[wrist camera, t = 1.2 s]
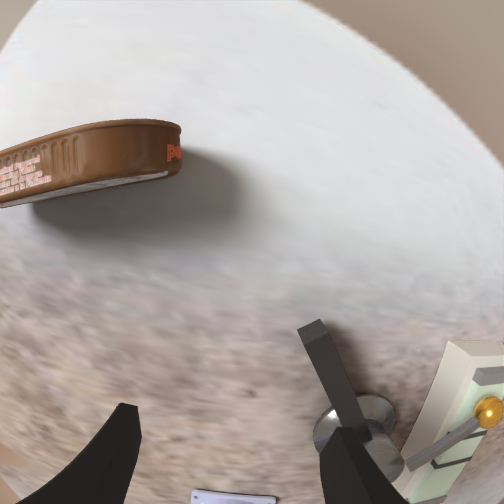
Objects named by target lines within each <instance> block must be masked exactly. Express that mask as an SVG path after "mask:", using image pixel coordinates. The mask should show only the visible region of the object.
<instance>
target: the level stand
mask: <svg viewBox="0 0 504 504" xmlns="http://www.w3.org/2000/svg"><path fill="white" fill-rule="evenodd" d="M487 396H496V397H498V398H499V399H500V400H501V401H502V399H503V396H504V344H502V343H501V342H499V341H464V340H448V343H447V346H446V349H445V352H444V354H443V357H442V360H441V363H440V366H439V368H438V371H437V374H436V376H435V379H434V381H433V384H432V386H431V389H430V391H429V393H428V396H427V398H426V400H425V403H424V405H423V407H422V409H421V412H420V414H419V416H418V418H417V420H416V422H415V424H414V427H413V429H412V431H411V433H410V435H409V437H408V439H407V441H406V442H405V444H404V446H403V448H402V450H401V452H400V454H401V456H402V457H403V459H404V461H405V460H406V459H408V458H410V457H412V456H414V455H415V454H417V453H419V452H420V451H422V450H424V449H425V448H427V447H429V446H430V445H432V444H434V443H435V442H437V441H438V440H440V439H441V438H443V437H444V436H446V435H447V434H449V433H450V432H452V431H453V430H455V429H456V428H458V427H459V426H461V425H462V424H463V423H465V422H466V421H468V420H469V419H470V418H472V417H473V413H474V409H475V407H476V405H477V403H478V402H479V401H480V400H481V399H483V398H485V397H487ZM487 431H488V430H487V429H482V428H480V427H479V428H478V429H477V430H475V431H474V432H473V433H471V434H470V435H469V436H467V437H466V438H464V439H463V440H462V441H460V442H459V443H457V444H456V445H454V446H453V447H451V448H450V449H448V450H447V451H445V452H444V453H442V454H441V455H439V456H437V457H436V458H434V459H433V460H431V461H429V462H428V463H426V464H424V465H423V466H421V467H419V468H417V469H416V470H414V471H412V472H410V471H409V469H408V468H407V466H406V462H405V467H404V470H403V472H402V473H401V475H400V476H399V477H398V478H397V479H396V480H395V481H394V482H393V483H391V484H392V485H393V486H394V488H395V489H396V490H397V491H398V492H399V493H400V494H401V495H402V497H403V498H404V499H405V500H406V501H407V502H408V503H409V504H439V503H442V502H443V501H444V500H445V498H446V497H447V496H446V492H447V491H448V490H449V488H450V487H451V486H452V484H453V483H454V481H455V480H456V478H457V477H458V476H459V474H460V473H461V471H462V470H463V468H464V467H465V465H466V464H467V462H468V461H470V460H471V458H472V454H473V452H474V451H475V449H476V447H477V446H478V444H479V442H480V441H481V439H482V437H483V435H485V434H486V433H487Z"/></svg>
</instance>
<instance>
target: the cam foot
mask: <svg viewBox="0 0 504 504" xmlns="http://www.w3.org/2000/svg"><path fill="white" fill-rule="evenodd" d="M297 331H298V333H299V335H300V338H301V340H302V342H303V345H304V347H305V349H306V351H307V353H308V355H309V357H310V359H311V361H312V364H313V366H314V368H315V370H316V372H317V374H318V376H319V378H320V380H321V383H322V385H323V387H324V389H325V391H326V393H327V395H328V397H329V399H330V402H331V404H332V406H331V407H330V408H329V409H327V410H326V411H325V412H324V413H323V414H322V416H321V417H320V418H319V420H318V421H317V423H316V425H315V427H314V430H313V441H314V444H315V447H316V450H317V451H318V453H319V454H320V453H321V451H322V450H323V448H324V447H325V445H326V443H327V442H328V440H329V439H330V437H331V435H332V434H333V432H334V431H335V429H336V427H352V428H353V430H354V431H355V433H356V434H357V436H358V437H359V439H360V441H361V442H362V444H363V445H364V447H365V448H366V450H367V451H368V453H369V454H370V456H371V457H372V459H373V460H374V461H375V463H376V464H377V466H378V467H379V468H380V470H381V471H382V472H383V474H384V475H385V476H386V478H387V479H388V480H389V482H390V483H393V482H394V481H395V480H396V479H397V478H398V477H399V476H400V475H401V473H402V472H403V470H404V467H405V462H406V466H407V468H408V469H409V471H410V472H412V471H414V470H416V469H417V468H419V467H421V466H423V465H424V464H426V463H428V462H429V461H431V460H433V459H434V458H436V457H437V456H439V455H441V454H442V453H444V452H445V451H447V450H448V449H450V448H451V447H453V446H454V445H456V444H457V443H459V442H460V441H462V440H463V439H464V438H466V437H467V436H469V435H470V434H471V433H473V432H474V431H475V430H477V429H478V428H479V427H480V428H482V429H489V428H492V427H494V426H495V425H496V424H498V423H499V421H500V420H501V418H502V416H503V412H504V406H503V403H502V401H501V400H500V399H499V398H498V397H496V396H487V397H485V398H483V399H481V400H480V401H479V402H478V403H477V405H476V407H475V409H474V413H473V417H472V418H470V419H469V420H468V421H466V422H465V423H463V424H462V425H461V426H459V427H458V428H456V429H455V430H453V431H452V432H450V433H449V434H447V435H446V436H444V437H443V438H441V439H440V440H438V441H437V442H435V443H434V444H432V445H430V446H429V447H427V448H425V449H424V450H422V451H420V452H419V453H417V454H415V455H414V456H412V457H410V458H408V459H406V460H405V461H404V459H403V457H402V456H401V454H400V452H399V451H398V449H397V447H396V446H395V444H394V443H393V441H392V439H391V438H390V435H391V433H392V431H393V429H394V426H395V423H396V414H395V410H394V408H393V407H392V405H391V404H390V403H389V401H388V400H387V399H385V398H384V397H382V396H380V395H376V394H358V395H355V393H354V391H353V388H352V386H351V383H350V381H349V378H348V376H347V374H346V371H345V369H344V366H343V364H342V362H341V359H340V357H339V355H338V352H337V350H336V348H335V345H334V343H333V341H332V338H331V336H330V334H329V332H328V330H327V329H326V327H325V326H324V324H323V323H322V321H321V320H320V319H318V320H316V321H314V322H312V323H310V324H308V325H306V326H304V327H301V328H299V329H297Z"/></svg>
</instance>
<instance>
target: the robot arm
mask: <svg viewBox="0 0 504 504" xmlns="http://www.w3.org/2000/svg"><path fill="white" fill-rule="evenodd" d="M141 438H142V434H141V428H140V421H139V414H138V406H134V405H130V404H125V403H119V404H118V406H117V407H116V409H115V410H114V412H113V413H112V414H111V416H110V417H109V419H108V420H107V421H106V423H105V424H104V425H103V427H102V428H101V429H100V430H99V432H98V433H97V434H96V435H95V436H94V438H93V439H92V440H91V441H90V442H89V444H88V445H87V446H86V447H85V448H84V449H83V450H82V451H81V452H80V453H79V454H78V455H77V456H76V458H75V459H74V460H73V461H72V462H71V463H70V464H69V465H68V466H66V467H65V468H64V469H63V470H62V471H61V472H60V473H59V474H58V475H56V476H55V477H54V478H53V479H52V480H50V481H49V482H48V483H46V484H45V485H44V486H42V487H41V488H40V489H38V490H37V491H35V492H34V493H32V494H31V495H29V496H28V497H26V498H24V499H23V500H21V501H19V502H18V503H16V504H123V503H124V500H125V496H126V493H127V490H128V487H129V484H130V481H131V478H132V474H133V471H134V468H135V465H136V462H137V458H138V453H139V448H140V443H141ZM319 456H320V476H321V482H322V488H323V493H324V498H325V503H326V504H409V503H408V502H407V501H406V500H405V499H404V498H403V497H402V495H401V494H400V493H399V492H398V491H397V490H396V489H395V488H394V486H393V485H392V484H391V483H390V482H389V480H388V479H387V478H386V476H385V475H384V474H383V472H382V471H381V470H380V468H379V467H378V466H377V464H376V463H375V461H374V460H373V459H372V457H371V456H370V454H369V453H368V451H367V450H366V448H365V447H364V445H363V444H362V442H361V441H360V439H359V437H358V436H357V434H356V433H355V431H354V430H353V428H352V427H336V429H335V431H334V432H333V434H332V435H331V437H330V439H329V440H328V442H327V443H326V445H325V447H324V448H323V450H322V451H321V453H320V454H319ZM275 503H276V498H275V497H270V496H251V495H239V494H228V493H220V492H212V491H204V490H198V489H195V490H192V494H191V504H275Z"/></svg>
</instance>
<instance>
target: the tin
mask: <svg viewBox="0 0 504 504" xmlns="http://www.w3.org/2000/svg"><path fill="white" fill-rule="evenodd" d="M180 134H181V128H180V126H179V125H177V124H175V123H172V122H168V121H163V120H155V119H122V120H110V121H102V122H96V123H90V124H84V125H81V126H76V127H72V128H69V129H65V130H62V131H58V132H55V133H51V134H48V135H45V136H42V137H39V138H36V139H32V140H30V141H27V142H24V143H21V144H18V145H15V146H13V147H10V148H7V149H4V150H2V151H0V208H6V207H11V206H16V205H21V204H26V203H31V202H36V201H41V200H46V199H51V198H56V197H61V196H67V195H72V194H78V193H84V192H89V191H95V190H101V189H106V188H112V187H117V186H123V185H128V184H134V183H140V182H146V181H151V180H157V179H162V178H167V177H171V176H174V175H176V174H177V173H178V172H179V171H180V169H181V149H180Z"/></svg>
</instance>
